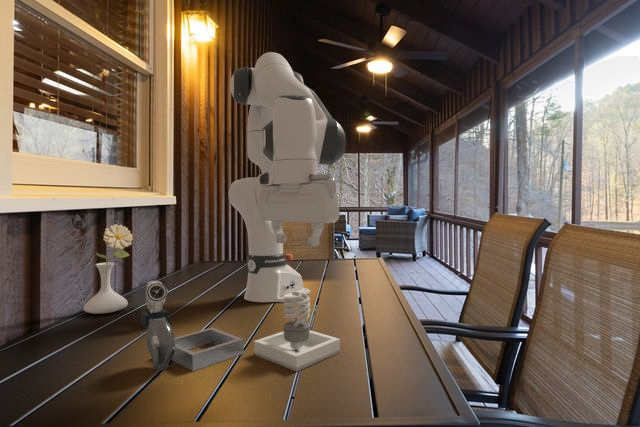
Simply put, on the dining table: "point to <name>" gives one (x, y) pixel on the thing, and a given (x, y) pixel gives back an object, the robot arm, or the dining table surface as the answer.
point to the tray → (307, 355)
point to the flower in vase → (106, 296)
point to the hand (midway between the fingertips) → (296, 244)
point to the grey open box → (190, 346)
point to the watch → (154, 303)
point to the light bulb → (296, 320)
